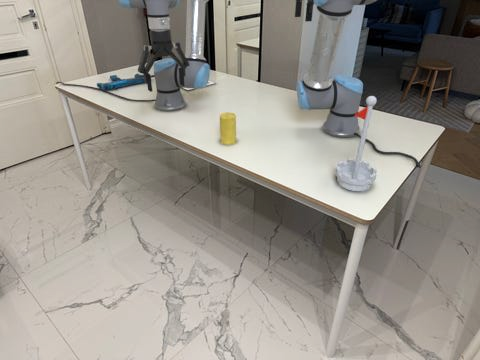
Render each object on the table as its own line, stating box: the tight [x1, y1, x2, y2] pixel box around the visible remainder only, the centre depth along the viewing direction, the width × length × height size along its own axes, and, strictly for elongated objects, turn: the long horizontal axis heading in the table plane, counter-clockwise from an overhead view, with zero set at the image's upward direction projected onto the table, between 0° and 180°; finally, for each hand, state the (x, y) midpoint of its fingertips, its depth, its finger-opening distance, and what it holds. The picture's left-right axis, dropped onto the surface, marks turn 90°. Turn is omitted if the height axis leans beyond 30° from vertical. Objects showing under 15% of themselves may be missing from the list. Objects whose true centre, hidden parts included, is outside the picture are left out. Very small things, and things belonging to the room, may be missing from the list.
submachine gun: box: [96, 73, 155, 91], centre depth 208 cm, size 34×4×25 cm
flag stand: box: [334, 95, 378, 192], centre depth 107 cm, size 13×13×30 cm
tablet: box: [180, 79, 216, 91], centre depth 211 cm, size 32×20×1 cm, turn 41°
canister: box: [219, 112, 237, 146], centre depth 138 cm, size 6×6×12 cm
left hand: (166, 87), depth 134 cm, fingers open, 13 cm apart
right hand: (302, 19), depth 155 cm, fingers open, 13 cm apart
